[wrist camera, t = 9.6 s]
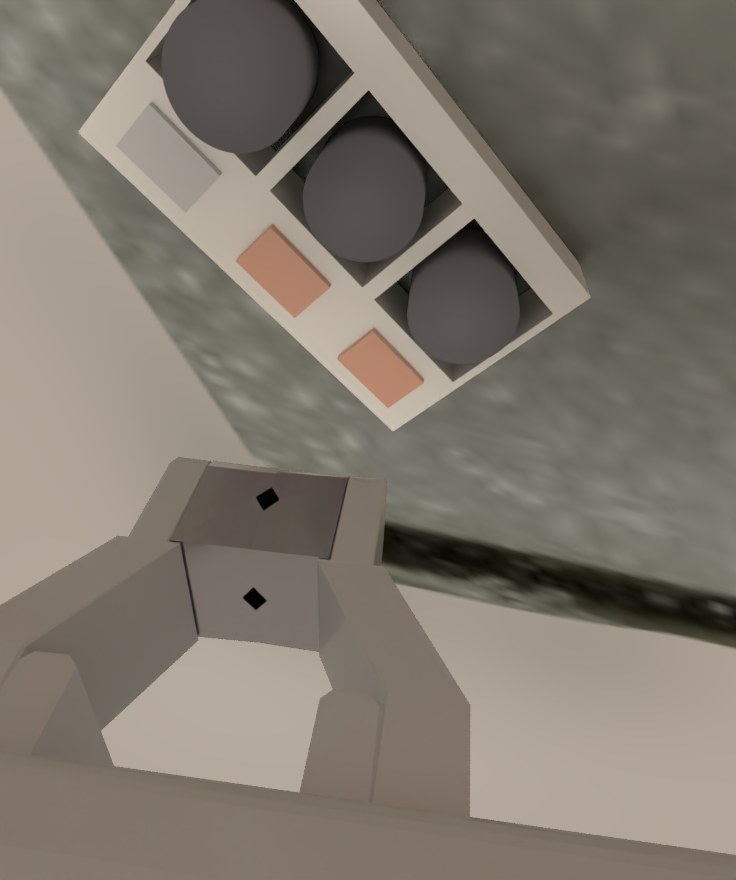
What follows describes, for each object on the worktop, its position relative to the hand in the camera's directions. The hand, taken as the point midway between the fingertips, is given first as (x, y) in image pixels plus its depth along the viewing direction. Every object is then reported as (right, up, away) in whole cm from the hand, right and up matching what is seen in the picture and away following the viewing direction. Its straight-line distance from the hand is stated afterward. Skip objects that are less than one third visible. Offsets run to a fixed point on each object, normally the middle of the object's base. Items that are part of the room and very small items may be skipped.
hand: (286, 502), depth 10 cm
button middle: (+1, +10, +14) cm, 17 cm away
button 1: (-2, +12, +11) cm, 17 cm away
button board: (+1, +10, +15) cm, 18 cm away
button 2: (+5, +7, +16) cm, 18 cm away
